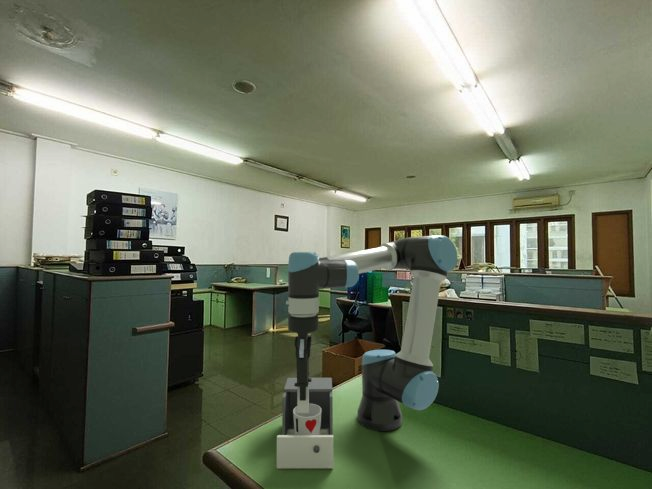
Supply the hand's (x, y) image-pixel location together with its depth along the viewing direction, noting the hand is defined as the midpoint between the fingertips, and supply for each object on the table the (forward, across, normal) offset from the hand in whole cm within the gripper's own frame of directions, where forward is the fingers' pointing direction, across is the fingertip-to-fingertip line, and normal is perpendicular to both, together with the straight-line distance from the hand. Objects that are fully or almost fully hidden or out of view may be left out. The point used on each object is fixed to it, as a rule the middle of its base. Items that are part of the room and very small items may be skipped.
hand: (303, 411), depth 75 cm
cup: (+17, -14, 0) cm, 21 cm away
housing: (+18, -22, 0) cm, 29 cm away
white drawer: (+18, -14, 0) cm, 23 cm away
